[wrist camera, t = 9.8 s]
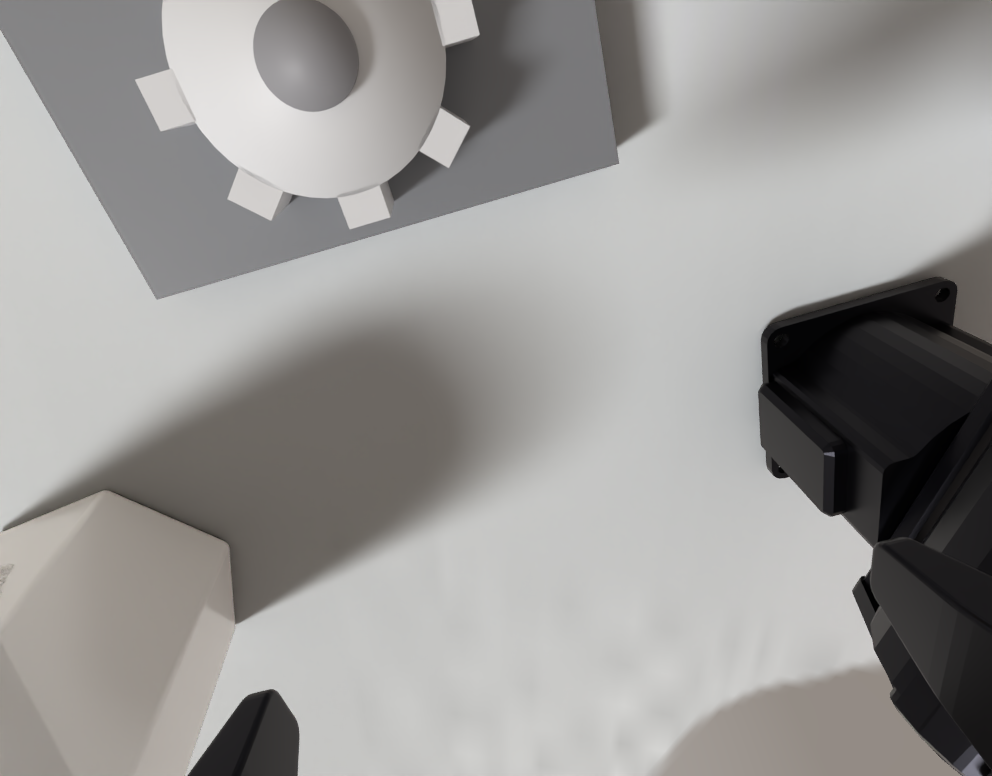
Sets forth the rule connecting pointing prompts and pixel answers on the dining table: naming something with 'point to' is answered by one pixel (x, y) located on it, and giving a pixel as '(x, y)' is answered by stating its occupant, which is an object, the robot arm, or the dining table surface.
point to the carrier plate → (196, 178)
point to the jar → (109, 639)
